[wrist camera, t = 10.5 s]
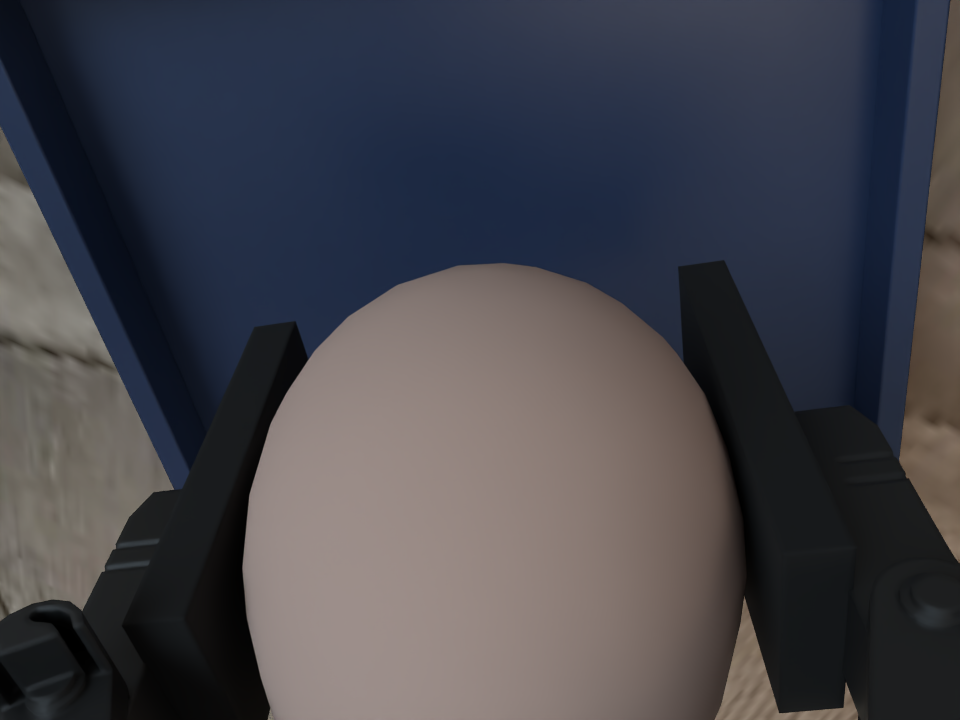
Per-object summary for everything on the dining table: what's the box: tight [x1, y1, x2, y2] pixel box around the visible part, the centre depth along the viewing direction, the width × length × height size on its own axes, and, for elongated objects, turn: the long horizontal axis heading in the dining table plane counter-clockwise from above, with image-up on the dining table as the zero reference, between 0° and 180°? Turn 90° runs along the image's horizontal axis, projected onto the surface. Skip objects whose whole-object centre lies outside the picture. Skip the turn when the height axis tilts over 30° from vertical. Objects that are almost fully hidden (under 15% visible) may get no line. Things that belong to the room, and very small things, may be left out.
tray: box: [0, 0, 950, 490], centre depth 19 cm, size 17×15×2 cm
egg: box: [242, 263, 747, 720], centre depth 12 cm, size 7×7×9 cm
